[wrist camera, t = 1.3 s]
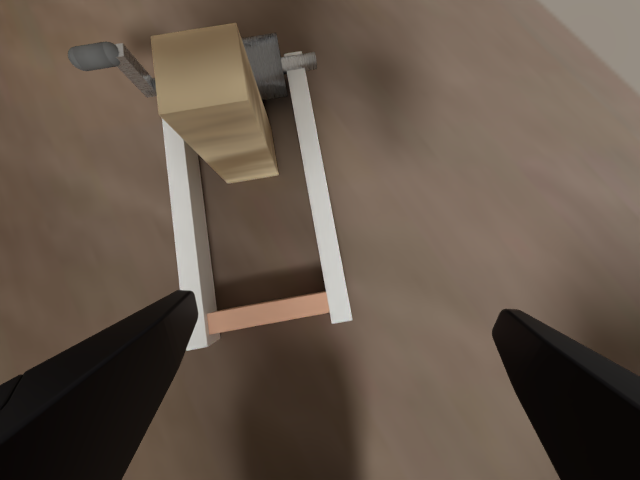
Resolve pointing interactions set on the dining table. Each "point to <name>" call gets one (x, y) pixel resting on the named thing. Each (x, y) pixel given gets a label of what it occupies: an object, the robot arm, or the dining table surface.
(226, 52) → the tan wooden block
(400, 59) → the dining table surface
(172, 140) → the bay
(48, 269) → the dining table surface
